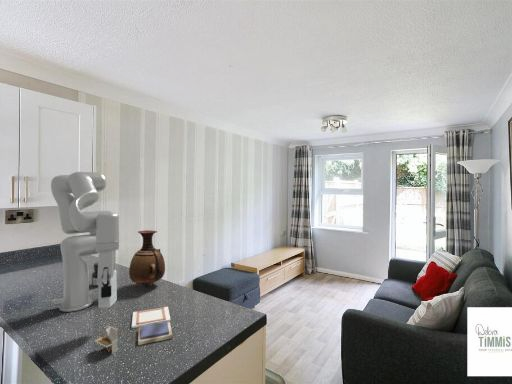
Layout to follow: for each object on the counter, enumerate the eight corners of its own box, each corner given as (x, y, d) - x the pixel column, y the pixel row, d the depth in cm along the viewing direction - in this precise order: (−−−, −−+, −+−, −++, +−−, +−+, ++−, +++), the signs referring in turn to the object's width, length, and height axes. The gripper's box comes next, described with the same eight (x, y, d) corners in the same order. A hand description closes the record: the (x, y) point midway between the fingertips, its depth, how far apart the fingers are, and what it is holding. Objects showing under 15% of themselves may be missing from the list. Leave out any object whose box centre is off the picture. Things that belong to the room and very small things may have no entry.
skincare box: (105, 300, 105) (105, 270, 104) (117, 300, 105) (117, 269, 105) (97, 307, 99) (97, 275, 98) (109, 307, 99) (109, 275, 99)
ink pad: (138, 345, 91) (138, 339, 91) (138, 331, 100) (138, 325, 100) (172, 338, 95) (172, 332, 95) (169, 325, 104) (169, 320, 104)
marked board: (131, 328, 102) (131, 325, 102) (133, 314, 114) (133, 311, 114) (170, 321, 107) (170, 318, 107) (167, 308, 119) (167, 305, 119)
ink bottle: (92, 288, 144) (92, 266, 144) (89, 284, 150) (89, 263, 150) (112, 284, 150) (112, 263, 150) (108, 280, 157) (108, 260, 157)
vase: (130, 282, 154) (130, 229, 154) (164, 278, 161) (163, 227, 161) (127, 295, 134) (127, 235, 134) (166, 290, 141) (166, 232, 141)
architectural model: (107, 358, 84) (107, 334, 84) (94, 351, 88) (94, 328, 88) (117, 352, 87) (117, 329, 87) (105, 346, 91) (105, 324, 91)
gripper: (99, 242, 108) (99, 286, 108) (91, 252, 92) (91, 304, 92) (120, 241, 111) (120, 284, 111) (116, 250, 95) (116, 300, 95)
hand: (107, 292), depth 102 cm, fingers closed on skincare box, 6 cm apart
